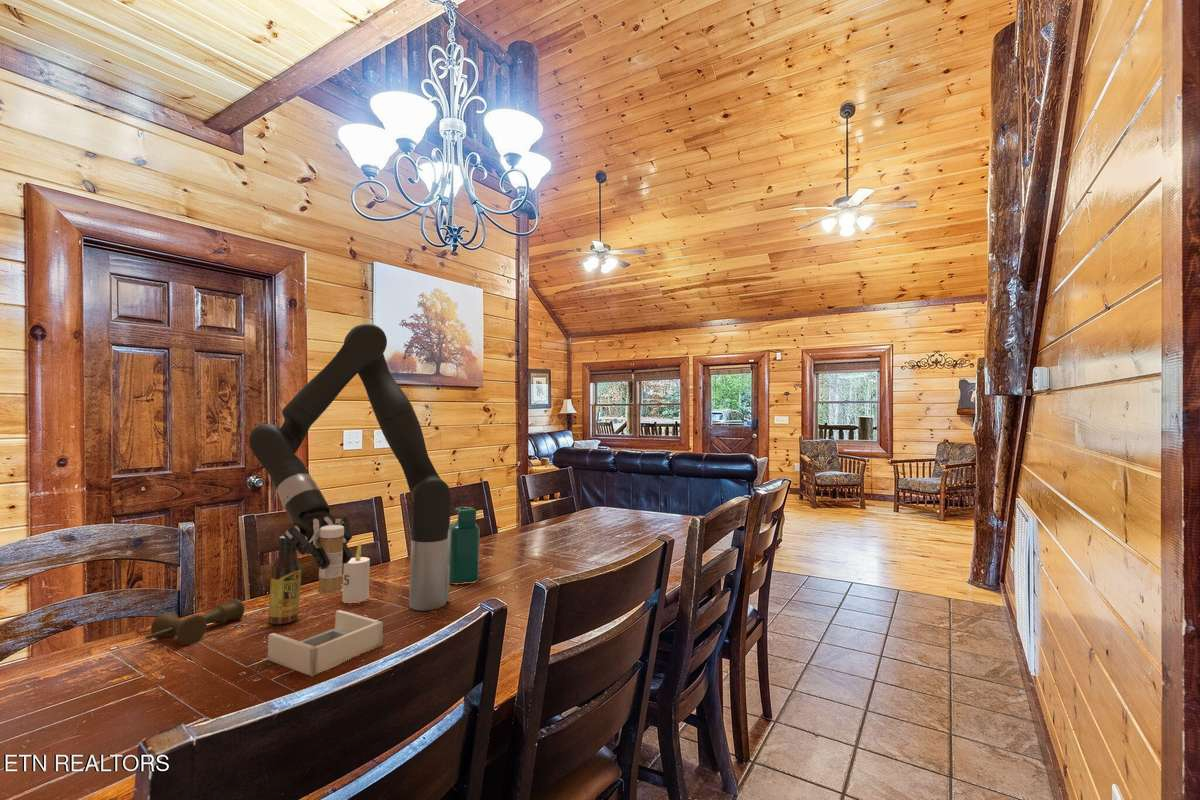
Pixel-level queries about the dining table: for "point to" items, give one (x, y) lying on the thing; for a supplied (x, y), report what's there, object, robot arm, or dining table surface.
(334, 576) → the sprinkles bottle
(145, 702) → the dining table surface
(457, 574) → the green bottle
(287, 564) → the sauce bottle
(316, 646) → the caddy
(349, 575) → the candle
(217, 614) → the kendama
